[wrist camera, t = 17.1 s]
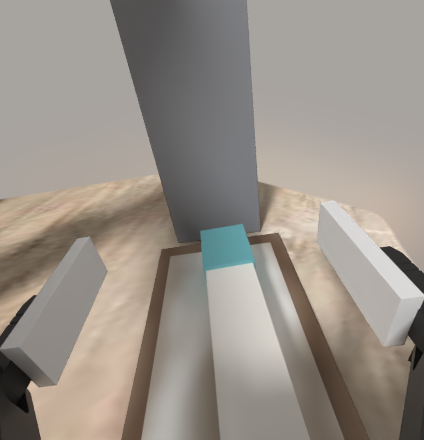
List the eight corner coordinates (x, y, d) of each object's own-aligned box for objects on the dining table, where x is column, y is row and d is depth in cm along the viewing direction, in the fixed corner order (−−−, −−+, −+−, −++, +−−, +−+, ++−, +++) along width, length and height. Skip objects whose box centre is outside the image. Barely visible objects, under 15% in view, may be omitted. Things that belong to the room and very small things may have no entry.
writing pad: (84, 648, 12) (74, 650, 11) (163, 253, 35) (161, 248, 35) (445, 627, 11) (454, 628, 10) (278, 237, 34) (277, 231, 34)
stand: (174, 245, 36) (90, -43, 21) (181, 202, 47) (129, -7, 31) (264, 232, 36) (249, -76, 20) (249, 192, 47) (232, -27, 31)
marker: (236, 568, 12) (224, 556, 10) (207, 262, 31) (200, 231, 28) (335, 553, 12) (348, 536, 10) (246, 256, 31) (242, 223, 28)
